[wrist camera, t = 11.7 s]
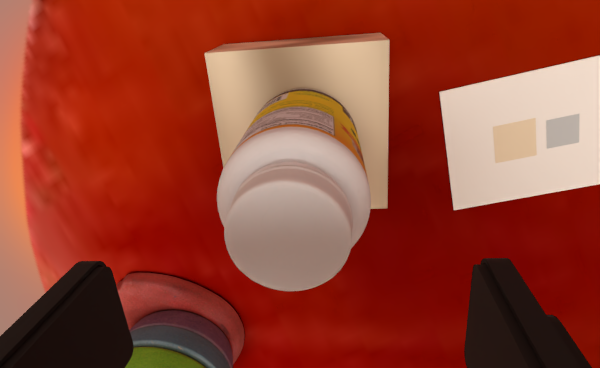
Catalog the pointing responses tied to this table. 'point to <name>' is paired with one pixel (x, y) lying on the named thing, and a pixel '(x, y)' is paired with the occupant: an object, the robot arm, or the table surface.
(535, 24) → the table surface
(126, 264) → the table surface
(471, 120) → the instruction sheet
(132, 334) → the stacking bear
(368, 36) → the pedestal
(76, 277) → the robot arm
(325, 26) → the table surface
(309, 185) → the supplement bottle
